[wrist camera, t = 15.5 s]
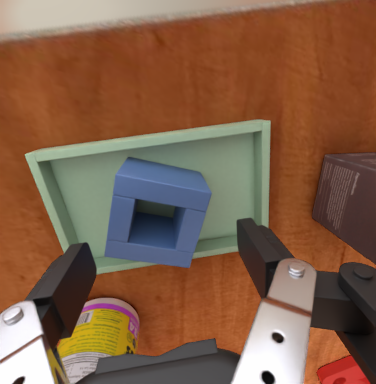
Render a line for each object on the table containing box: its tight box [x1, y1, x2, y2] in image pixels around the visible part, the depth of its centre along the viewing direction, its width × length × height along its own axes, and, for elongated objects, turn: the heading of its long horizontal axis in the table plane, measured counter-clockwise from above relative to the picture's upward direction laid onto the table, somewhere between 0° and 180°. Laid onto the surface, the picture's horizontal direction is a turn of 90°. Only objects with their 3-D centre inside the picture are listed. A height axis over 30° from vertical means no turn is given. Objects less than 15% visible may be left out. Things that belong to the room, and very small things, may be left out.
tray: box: [25, 119, 270, 274], centre depth 17 cm, size 16×10×2 cm, turn 97°
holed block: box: [104, 157, 212, 268], centre depth 15 cm, size 6×6×4 cm
